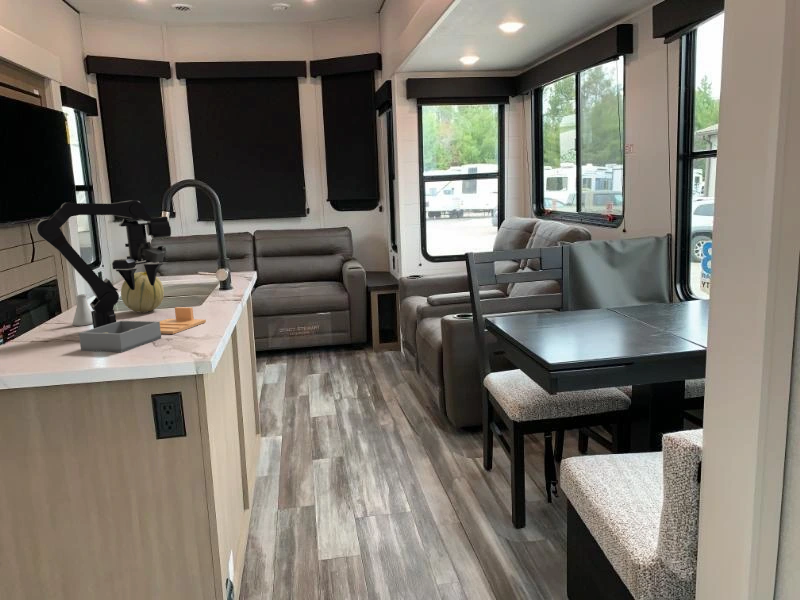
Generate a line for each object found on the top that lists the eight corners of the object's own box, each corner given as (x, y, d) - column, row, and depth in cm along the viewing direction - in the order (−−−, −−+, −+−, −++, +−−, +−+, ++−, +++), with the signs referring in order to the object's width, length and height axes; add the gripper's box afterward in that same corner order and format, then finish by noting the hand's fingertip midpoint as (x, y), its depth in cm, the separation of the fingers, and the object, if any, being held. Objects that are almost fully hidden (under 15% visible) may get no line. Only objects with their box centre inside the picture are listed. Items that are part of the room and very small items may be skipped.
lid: (133, 334, 195) (131, 317, 194) (168, 322, 210) (166, 306, 209) (173, 335, 190) (171, 318, 189) (206, 323, 206) (204, 307, 205)
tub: (81, 350, 175) (78, 332, 174) (122, 336, 190) (120, 320, 189) (122, 352, 171) (119, 334, 170) (161, 338, 186) (159, 321, 185)
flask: (68, 326, 211) (63, 296, 209) (85, 321, 218) (81, 292, 216) (84, 326, 208) (80, 297, 207) (101, 322, 215) (97, 293, 213)
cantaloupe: (131, 309, 237) (126, 269, 235) (171, 306, 238) (166, 267, 236) (116, 317, 223) (111, 274, 220) (159, 314, 224) (154, 272, 221)
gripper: (137, 242, 193) (143, 292, 195) (176, 236, 210) (181, 283, 213) (108, 242, 196) (114, 292, 199) (149, 237, 213) (154, 283, 216)
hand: (143, 287), depth 207 cm, fingers open, 9 cm apart
